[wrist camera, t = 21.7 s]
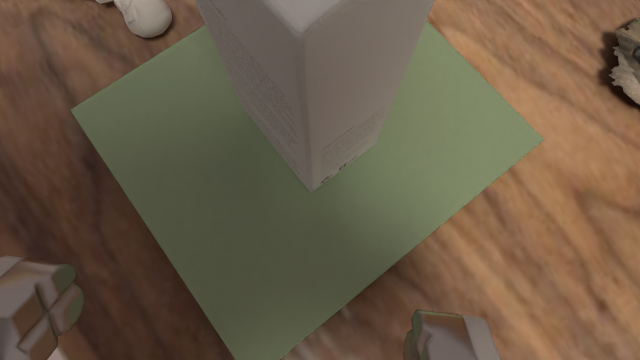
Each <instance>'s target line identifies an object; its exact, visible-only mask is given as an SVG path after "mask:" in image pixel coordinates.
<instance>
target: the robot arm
mask: <svg viewBox="0 0 640 360" xmlns="http://www.w3.org/2000/svg"><path fill="white" fill-rule="evenodd" d="M76 278H77V273H76V271H75V268H74V266H72V265H68V264H62V263H56V262H49V261H43V260H37V259H30V258H23V257H16V256H9V255H6V256H3V257H0V360H47V359H48V358H49V356H50V355H51V354H52V353H53V351H54V350H55V349H56V348H57V346H58V336H60V335H62V334H64V333H65V332H67V331H69V330H71V329H72V327H73V326H74V325H75V323H76V322H77V321H78V319H79V318H80V315H81V313H82V310H83V307H84V294H83V291H82V289H81V288H80V287H79V286H78V285H77V284H75V283H74V281H75V279H76ZM411 321H412V327H413V329H412V330H410V331H409V332H407V335H406V339H405V342H404V352H403V360H501V359H500V356H499V354H498V351H497V349H496V346H495V343H494V341H493V338H492V335H491V333H490V330H489V328H488V325H487V322H486V321H485V320H484V319H483V318H482V317H474V316H466V315H458V314H452V313H444V312H435V311H427V310H418V309H417V310H416V311H415V312H414V314H413V317H412V320H411Z"/></svg>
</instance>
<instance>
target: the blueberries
mask: <svg viewBox="0 0 640 360" xmlns="http://www.w3.org/2000/svg"><path fill="white" fill-rule="evenodd" d="M626 26H628V25H626ZM628 28H629V30H625V29H624V28H621V29H619V30H616V38H618V42H619V46H616V47H614V46H613V47H612V48H613V49H616V50H615V52H614V56H615V55H617V56H618V60H619V65H618V66H617V67H614V68H613V69H611V71H612V74H609V76H610V77H612V78H613V79H615V81H614V82H612V83H613V85H614V86H615V85H622V87H623V90H624V93H627V95H628V97H630V98H632V100H634V101H635V102H636V103H639V105H640V19H637V20H636V21H632V23H630V25H629V26H628Z"/></svg>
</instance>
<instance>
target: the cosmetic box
mask: <svg viewBox="0 0 640 360" xmlns="http://www.w3.org/2000/svg"><path fill="white" fill-rule="evenodd" d="M195 2H196V4H197V7H198V9H199V11H200V13H201V16H202V18H203V20H204V22H205V25H206V27H207V29H208V31H209V33H210V36H211V38H212V40H213V42H214V45H215V47H216V49H217V51H218V54H219V56H220V58H221V60H222V63H223V65H224V67H225V69H226V72H227V74H228V76H229V78H230V81H231V83H232V85H233V88H234V90H235V92H236V95H237V97H238V99H239V101H240V104H241V106H242V108H243V109H244V110H245V111H246V113H247V114H248V115H249V116H250V118H251V119H252V120H253V121H254V123H255V124H256V125H257V126H258V128H259V129H260V130H261V131H262V133H263V134H264V135H265V136H266V138H267V139H268V140H269V142H270V143H271V144H272V145H273V147H274V148H275V149H276V150H277V152H278V153H279V154H280V155H281V157H282V158H283V159H284V160H285V162H286V163H287V164H288V165H289V167H290V168H291V169H292V170H293V172H294V173H295V174H296V175H297V177H298V178H299V179H300V180H301V182H302V183H303V184H304V185H305V187H306V188H307V189H308V190H309V192H313V191H315V190H316V189H317V188H319V187H320V186H321V185H322V184H324V183H325V182H326V181H328V180H329V179H330V178H332V177H333V176H335V175H336V174H337V173H339V172H340V171H341V170H342V169H344V168H345V167H346V166H347V165H349V164H350V163H351V162H353V161H354V160H355V159H356V158H358V157H359V156H360V155H362V154H363V153H364V152H366V151H367V150H368V149H370V148H371V147H373V146H374V145H375V144H376V142H377V139H378V137H379V134H380V132H381V129H382V127H383V124H384V122H385V120H386V117H387V115H388V112H389V110H390V107H391V105H392V102H393V100H394V98H395V95H396V93H397V90H398V88H399V86H400V83H401V81H402V78H403V76H404V73H405V71H406V68H407V66H408V64H409V61H410V58H411V56H412V54H413V51H414V49H415V47H416V44H417V41H418V39H419V37H420V34H421V32H422V30H423V27H424V25H425V22H426V20H427V17H428V15H429V12H430V10H431V8H432V5H433V3H434V0H195Z"/></svg>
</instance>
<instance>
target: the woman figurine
mask: <svg viewBox="0 0 640 360" xmlns="http://www.w3.org/2000/svg"><path fill="white" fill-rule="evenodd" d="M111 1H114V3H115V5H116V6H117V7H118V9H119V10H120V11H121V12H122V13H123V16H124V20H125V23H126V24H127V26H128V28H129V29H130V31H131V32H132V33H134V34H136V35H139V36H141V37H143V38H145V37H155V36H158V35H161V34H162V33H163V32H164V31H165V30H166V29H167V28H168V27H169V25H170V23H171V21H172V13H171V9H170V8H169V6H168V5H167V4H166V3H165V1H164V0H96V2H98V3H99V4H102V3H107V2H111Z"/></svg>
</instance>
